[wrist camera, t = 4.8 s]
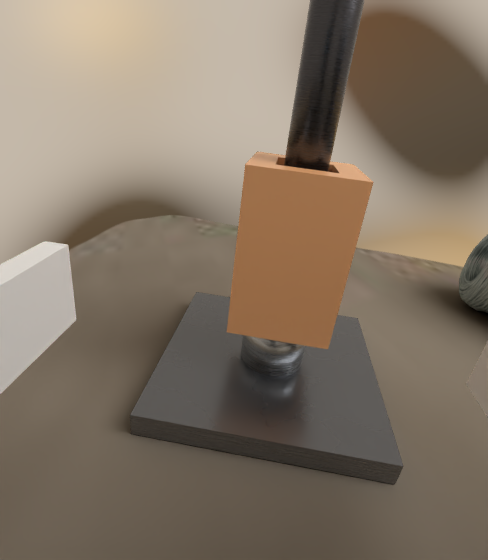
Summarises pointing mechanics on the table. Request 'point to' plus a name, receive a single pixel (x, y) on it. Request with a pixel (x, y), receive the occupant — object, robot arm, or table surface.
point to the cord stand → (275, 354)
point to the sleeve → (294, 249)
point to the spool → (476, 278)
